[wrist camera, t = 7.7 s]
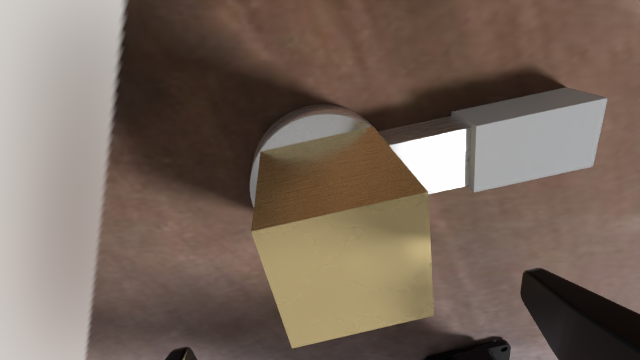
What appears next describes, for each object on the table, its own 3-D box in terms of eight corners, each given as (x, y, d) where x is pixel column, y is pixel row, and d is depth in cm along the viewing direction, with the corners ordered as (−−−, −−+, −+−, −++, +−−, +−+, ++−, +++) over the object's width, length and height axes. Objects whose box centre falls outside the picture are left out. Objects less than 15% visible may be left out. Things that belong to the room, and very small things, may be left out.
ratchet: (271, 238, 19) (269, 316, 14) (235, 121, 16) (216, 169, 11) (551, 177, 19) (644, 232, 15) (572, 49, 16) (699, 66, 11)
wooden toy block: (384, 220, 17) (434, 315, 12) (287, 242, 17) (291, 348, 12) (372, 126, 15) (428, 191, 9) (260, 151, 15) (251, 231, 9)
